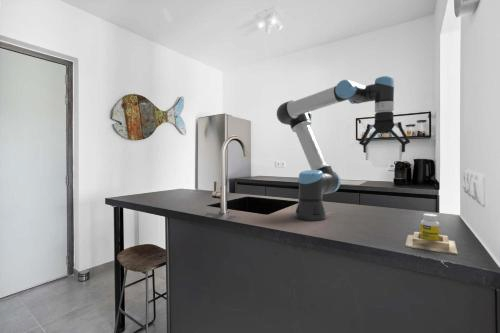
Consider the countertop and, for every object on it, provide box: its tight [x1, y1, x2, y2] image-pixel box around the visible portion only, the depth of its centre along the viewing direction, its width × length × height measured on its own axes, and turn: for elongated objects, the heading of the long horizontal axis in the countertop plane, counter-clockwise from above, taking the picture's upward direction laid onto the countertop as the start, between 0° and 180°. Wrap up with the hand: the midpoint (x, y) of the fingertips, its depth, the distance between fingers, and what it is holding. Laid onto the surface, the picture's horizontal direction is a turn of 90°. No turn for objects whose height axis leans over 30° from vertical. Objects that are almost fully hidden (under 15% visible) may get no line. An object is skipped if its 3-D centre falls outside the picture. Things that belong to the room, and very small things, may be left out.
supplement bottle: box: [419, 213, 440, 241], centre depth 92 cm, size 5×5×10 cm
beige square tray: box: [404, 231, 458, 256], centre depth 92 cm, size 14×14×2 cm
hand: (383, 160), depth 120 cm, fingers open, 13 cm apart
